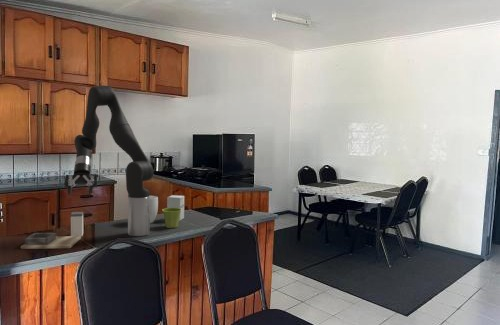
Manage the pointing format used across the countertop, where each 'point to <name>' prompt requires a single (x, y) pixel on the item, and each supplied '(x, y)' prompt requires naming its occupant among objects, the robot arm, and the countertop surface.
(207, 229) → the countertop surface
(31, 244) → the board
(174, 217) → the plant pot
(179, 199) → the supplement box
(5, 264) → the countertop surface
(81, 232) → the block
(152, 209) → the mug
